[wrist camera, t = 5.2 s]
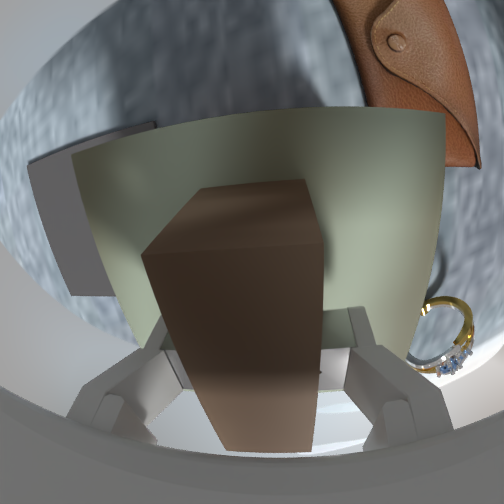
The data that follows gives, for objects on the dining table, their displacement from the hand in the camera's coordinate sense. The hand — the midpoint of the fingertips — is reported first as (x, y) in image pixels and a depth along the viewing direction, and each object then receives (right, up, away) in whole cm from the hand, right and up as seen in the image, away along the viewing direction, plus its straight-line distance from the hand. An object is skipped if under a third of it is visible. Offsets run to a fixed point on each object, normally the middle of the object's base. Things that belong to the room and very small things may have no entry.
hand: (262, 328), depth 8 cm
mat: (-13, +5, +13) cm, 19 cm away
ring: (+15, -2, +14) cm, 21 cm away
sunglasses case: (+10, +16, +5) cm, 19 cm away
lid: (0, +1, +2) cm, 2 cm away
